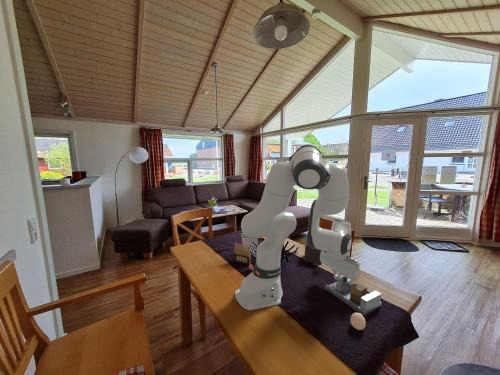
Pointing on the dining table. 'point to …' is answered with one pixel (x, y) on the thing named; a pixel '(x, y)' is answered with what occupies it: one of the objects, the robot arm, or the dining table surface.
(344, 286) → the free jaw
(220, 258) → the dining table surface
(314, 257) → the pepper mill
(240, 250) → the ammunition clip
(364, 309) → the vise
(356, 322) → the egg
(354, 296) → the block
